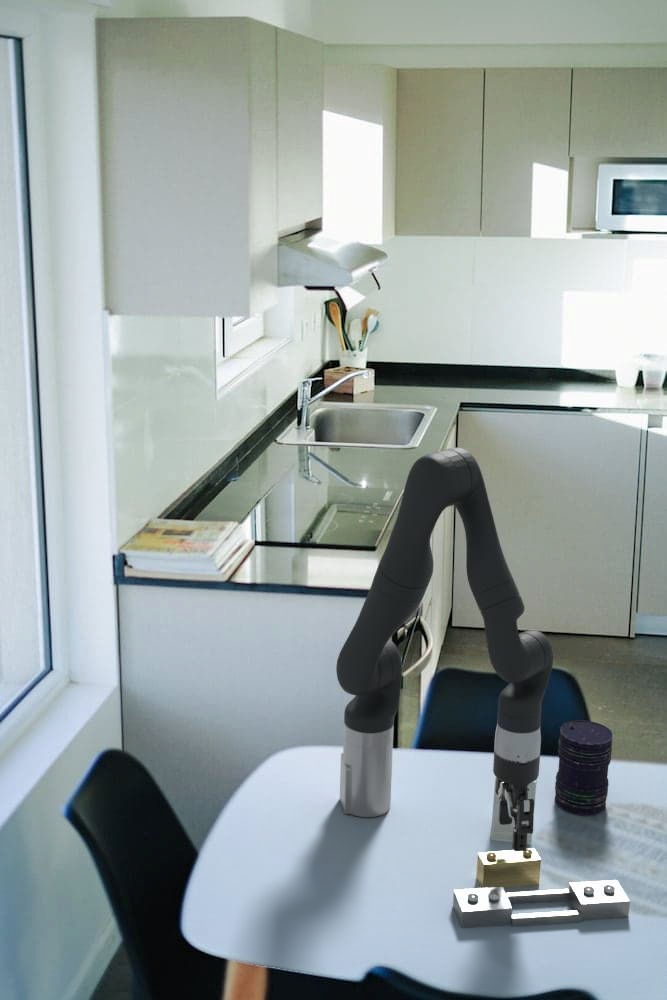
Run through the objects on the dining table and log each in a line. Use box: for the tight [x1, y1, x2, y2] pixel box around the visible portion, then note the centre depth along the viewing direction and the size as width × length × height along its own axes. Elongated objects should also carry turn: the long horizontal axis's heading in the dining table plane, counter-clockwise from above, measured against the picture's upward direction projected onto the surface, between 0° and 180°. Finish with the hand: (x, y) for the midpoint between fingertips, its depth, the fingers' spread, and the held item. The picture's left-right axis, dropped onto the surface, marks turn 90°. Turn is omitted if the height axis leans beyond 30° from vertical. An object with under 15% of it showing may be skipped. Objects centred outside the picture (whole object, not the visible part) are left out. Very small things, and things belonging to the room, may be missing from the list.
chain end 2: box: [534, 879, 631, 925], centre depth 205 cm, size 14×7×4 cm, turn 98°
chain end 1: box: [452, 887, 548, 929], centre depth 203 cm, size 14×7×4 cm, turn 98°
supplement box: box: [490, 777, 538, 846], centre depth 226 cm, size 7×7×13 cm
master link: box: [475, 847, 542, 889], centre depth 212 cm, size 10×4×6 cm, turn 101°
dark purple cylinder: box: [554, 720, 614, 817], centre depth 236 cm, size 10×10×15 cm
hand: (512, 836), depth 210 cm, fingers open, 8 cm apart
